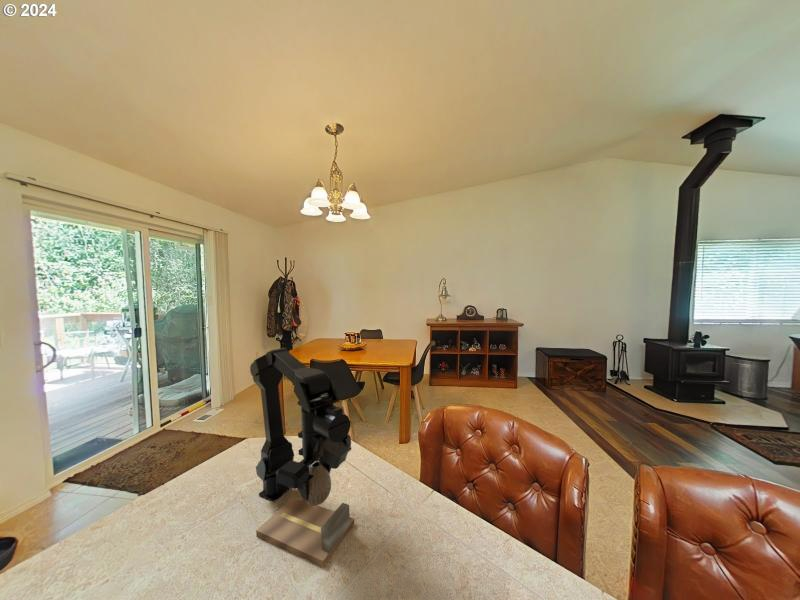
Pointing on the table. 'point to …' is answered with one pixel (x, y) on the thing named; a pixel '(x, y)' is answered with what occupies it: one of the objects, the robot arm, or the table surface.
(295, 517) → the wooden board with block
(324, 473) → the vase
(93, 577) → the table surface
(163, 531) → the table surface
